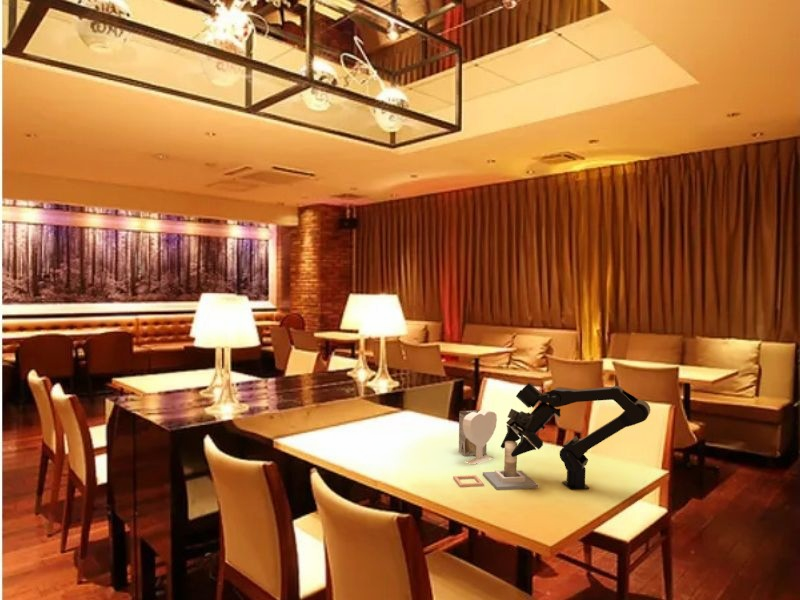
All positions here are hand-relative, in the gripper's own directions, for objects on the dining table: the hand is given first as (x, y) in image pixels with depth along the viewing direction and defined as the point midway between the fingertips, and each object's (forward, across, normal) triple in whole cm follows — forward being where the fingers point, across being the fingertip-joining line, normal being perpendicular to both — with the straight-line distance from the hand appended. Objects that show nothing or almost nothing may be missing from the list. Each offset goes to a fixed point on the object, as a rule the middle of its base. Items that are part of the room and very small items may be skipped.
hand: (506, 451), depth 190 cm
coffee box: (+8, -31, +6) cm, 33 cm away
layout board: (+6, 0, +8) cm, 10 cm away
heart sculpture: (+8, -23, +6) cm, 25 cm away
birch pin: (+5, 0, +7) cm, 9 cm away
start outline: (+16, -1, -2) cm, 16 cm away
